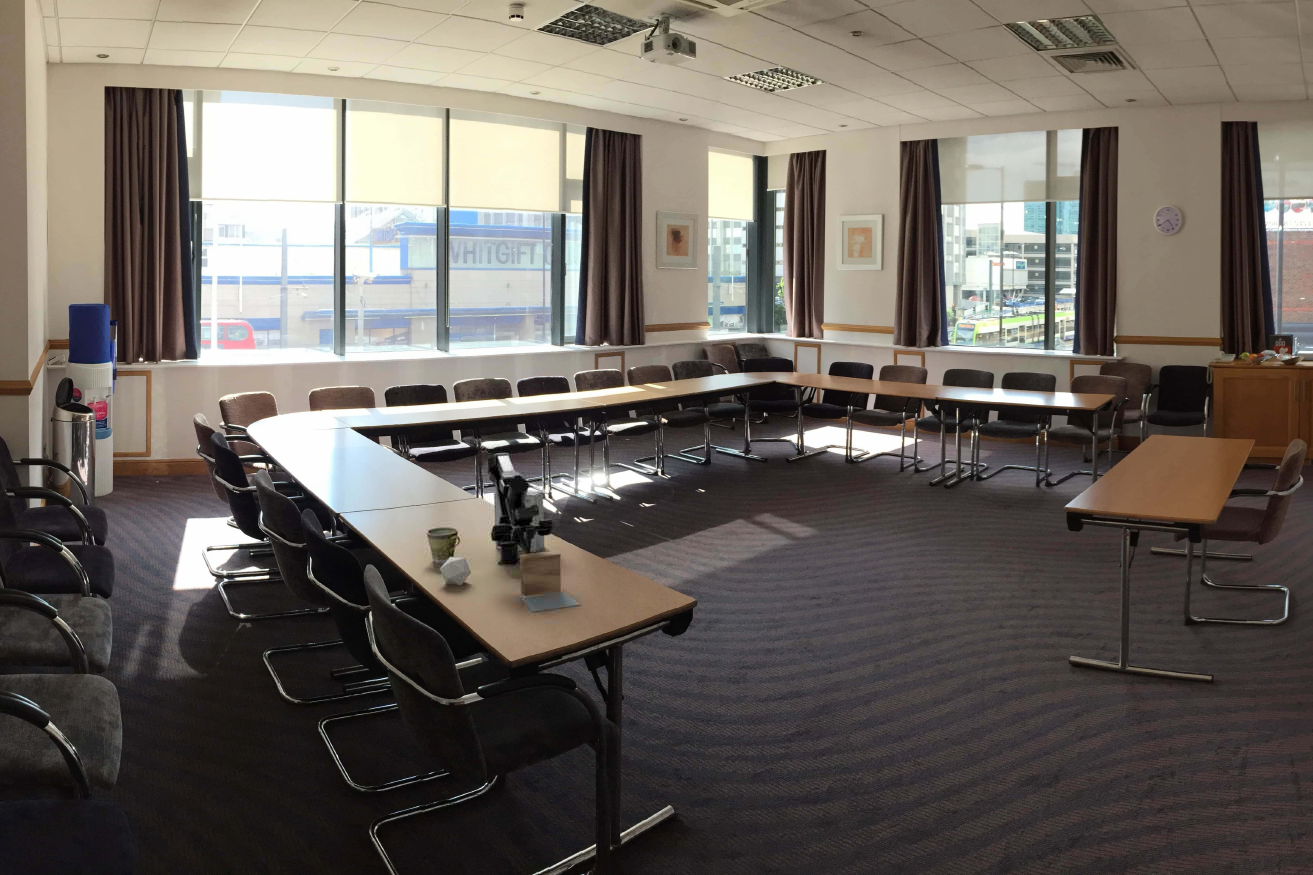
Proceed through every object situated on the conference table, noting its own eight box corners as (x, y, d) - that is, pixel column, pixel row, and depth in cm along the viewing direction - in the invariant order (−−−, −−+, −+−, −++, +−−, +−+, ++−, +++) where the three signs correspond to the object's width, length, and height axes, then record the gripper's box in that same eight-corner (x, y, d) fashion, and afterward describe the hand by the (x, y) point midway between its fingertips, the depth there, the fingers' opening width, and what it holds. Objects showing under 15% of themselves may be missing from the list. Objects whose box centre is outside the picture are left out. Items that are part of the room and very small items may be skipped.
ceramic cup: (421, 561, 308) (420, 531, 306) (444, 554, 316) (443, 525, 315) (448, 568, 301) (447, 538, 299) (471, 560, 309) (470, 531, 307)
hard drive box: (545, 546, 326) (544, 490, 322) (536, 552, 318) (535, 495, 315) (504, 543, 330) (503, 488, 327) (494, 548, 323) (493, 492, 319)
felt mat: (520, 599, 272) (520, 598, 271) (566, 592, 277) (566, 591, 277) (532, 612, 261) (532, 611, 261) (580, 605, 267) (580, 604, 267)
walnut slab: (521, 594, 276) (520, 554, 274) (556, 589, 281) (555, 550, 279) (525, 598, 273) (524, 558, 271) (560, 593, 277) (560, 554, 275)
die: (475, 582, 289) (464, 554, 292) (471, 576, 281) (460, 548, 283) (450, 593, 287) (439, 565, 290) (445, 588, 279) (434, 559, 282)
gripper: (492, 498, 281) (503, 543, 272) (551, 493, 288) (563, 536, 280) (486, 518, 289) (496, 562, 281) (544, 512, 297) (555, 555, 288)
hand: (528, 553), depth 282 cm, fingers closed
